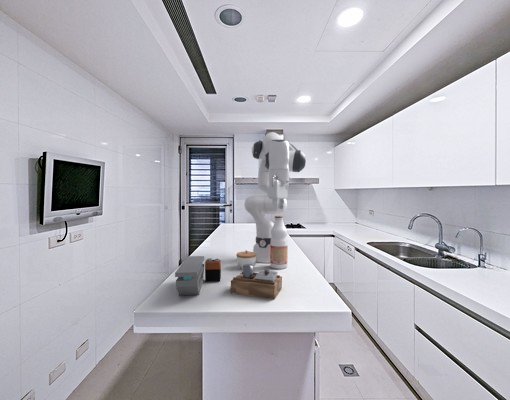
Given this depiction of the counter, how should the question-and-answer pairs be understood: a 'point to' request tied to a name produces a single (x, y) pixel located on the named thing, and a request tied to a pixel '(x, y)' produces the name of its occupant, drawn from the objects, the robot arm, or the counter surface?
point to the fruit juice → (278, 244)
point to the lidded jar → (246, 258)
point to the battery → (212, 270)
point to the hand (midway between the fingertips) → (278, 209)
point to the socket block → (256, 286)
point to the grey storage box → (190, 276)
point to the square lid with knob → (267, 275)
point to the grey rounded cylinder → (248, 271)
